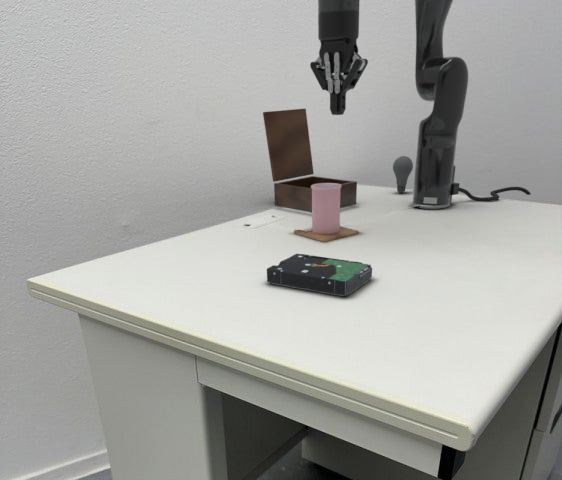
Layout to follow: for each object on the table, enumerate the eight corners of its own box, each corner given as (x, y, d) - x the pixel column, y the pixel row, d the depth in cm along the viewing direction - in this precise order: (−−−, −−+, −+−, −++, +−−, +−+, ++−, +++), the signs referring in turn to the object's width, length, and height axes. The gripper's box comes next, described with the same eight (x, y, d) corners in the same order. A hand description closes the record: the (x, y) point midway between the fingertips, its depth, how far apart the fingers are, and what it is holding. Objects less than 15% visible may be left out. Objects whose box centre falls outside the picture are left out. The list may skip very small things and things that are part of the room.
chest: (356, 206, 143) (357, 181, 139) (318, 216, 134) (318, 190, 131) (312, 199, 153) (312, 175, 150) (274, 208, 144) (274, 183, 141)
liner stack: (326, 225, 123) (327, 181, 118) (346, 230, 118) (347, 185, 114) (305, 230, 120) (304, 185, 115) (324, 236, 115) (324, 189, 110)
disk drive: (266, 285, 91) (346, 298, 84) (265, 269, 90) (347, 280, 83) (296, 267, 99) (372, 278, 92) (296, 252, 98) (373, 262, 91)
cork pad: (327, 225, 125) (327, 223, 125) (358, 233, 118) (358, 230, 118) (293, 233, 120) (293, 230, 120) (323, 242, 113) (324, 239, 113)
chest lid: (305, 108, 143) (303, 108, 144) (264, 111, 134) (262, 112, 135) (313, 174, 149) (311, 174, 150) (274, 181, 140) (272, 181, 141)
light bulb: (409, 191, 159) (412, 154, 154) (411, 194, 154) (414, 157, 149) (390, 191, 160) (392, 155, 155) (392, 195, 155) (394, 157, 150)
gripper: (380, 7, 98) (376, 113, 106) (325, 14, 106) (325, 112, 115) (354, 5, 93) (351, 116, 102) (298, 13, 102) (300, 115, 110)
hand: (337, 114), depth 108 cm, fingers closed
